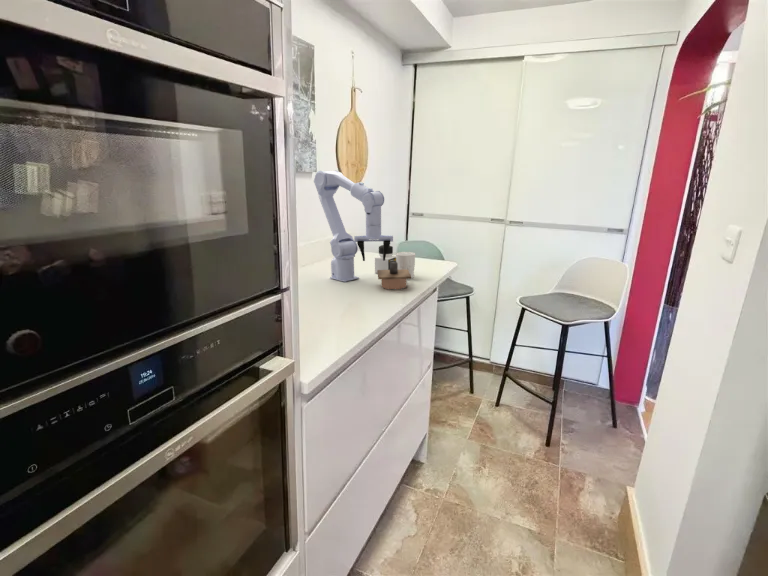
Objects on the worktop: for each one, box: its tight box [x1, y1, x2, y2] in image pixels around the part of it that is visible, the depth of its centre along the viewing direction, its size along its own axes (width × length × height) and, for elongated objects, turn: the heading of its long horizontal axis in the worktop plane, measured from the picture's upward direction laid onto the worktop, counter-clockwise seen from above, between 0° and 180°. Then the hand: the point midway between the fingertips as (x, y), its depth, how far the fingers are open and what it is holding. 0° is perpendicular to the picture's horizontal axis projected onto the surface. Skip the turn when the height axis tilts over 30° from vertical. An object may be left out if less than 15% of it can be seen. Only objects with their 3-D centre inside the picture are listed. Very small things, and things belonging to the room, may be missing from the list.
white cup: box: [395, 251, 416, 280], centre depth 175 cm, size 8×8×10 cm
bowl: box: [380, 279, 407, 290], centre depth 162 cm, size 9×9×4 cm
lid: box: [377, 262, 411, 280], centre depth 161 cm, size 12×12×5 cm
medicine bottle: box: [374, 244, 396, 275], centre depth 184 cm, size 7×7×12 cm
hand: (373, 260), depth 163 cm, fingers open, 7 cm apart
